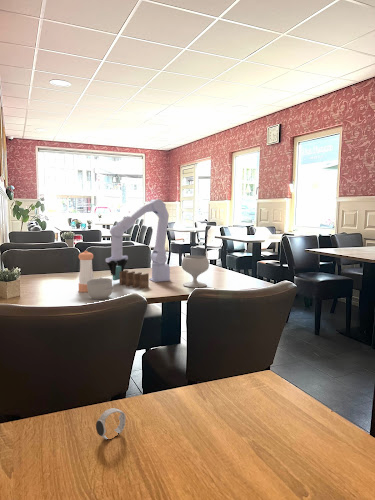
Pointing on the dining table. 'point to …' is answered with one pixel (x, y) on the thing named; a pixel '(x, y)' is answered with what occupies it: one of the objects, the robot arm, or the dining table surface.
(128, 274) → the brown wooden block
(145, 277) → the domino
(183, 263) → the chalice
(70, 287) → the dining table surface
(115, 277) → the domino
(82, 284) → the salt shaker
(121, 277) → the domino
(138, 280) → the domino
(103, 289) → the teacup
